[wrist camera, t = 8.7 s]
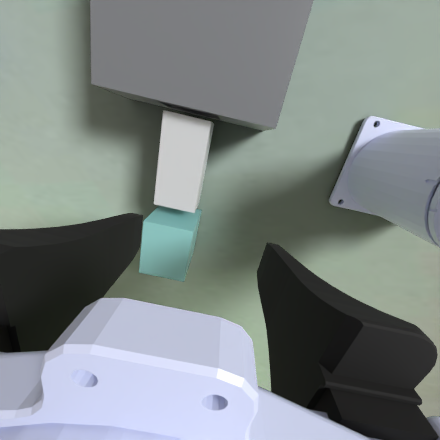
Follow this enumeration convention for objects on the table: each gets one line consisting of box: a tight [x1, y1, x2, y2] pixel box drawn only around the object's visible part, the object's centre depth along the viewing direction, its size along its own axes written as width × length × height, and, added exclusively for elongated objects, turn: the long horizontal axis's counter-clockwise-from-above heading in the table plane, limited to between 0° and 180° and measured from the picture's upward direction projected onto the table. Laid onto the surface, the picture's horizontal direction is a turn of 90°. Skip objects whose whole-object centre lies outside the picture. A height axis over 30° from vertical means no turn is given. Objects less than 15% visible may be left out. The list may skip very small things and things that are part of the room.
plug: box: [139, 110, 214, 282], centre depth 18 cm, size 4×13×5 cm, turn 168°
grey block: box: [90, 0, 313, 131], centre depth 14 cm, size 12×10×5 cm
